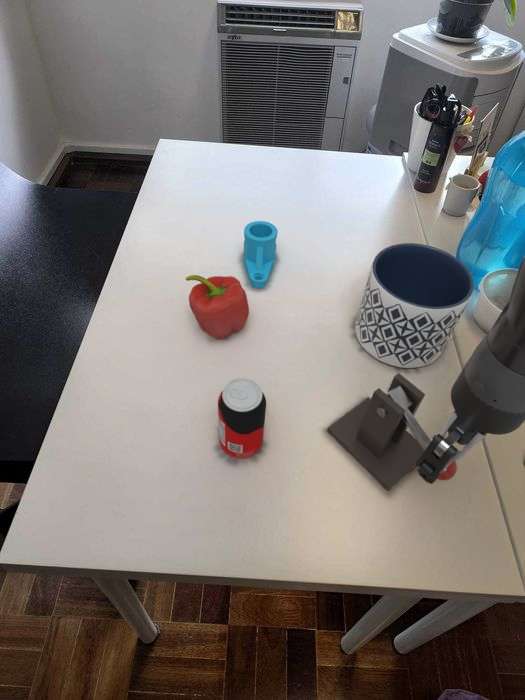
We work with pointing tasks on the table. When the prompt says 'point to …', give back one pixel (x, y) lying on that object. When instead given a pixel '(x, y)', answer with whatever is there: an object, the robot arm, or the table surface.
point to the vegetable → (219, 304)
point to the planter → (412, 304)
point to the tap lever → (417, 427)
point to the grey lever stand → (381, 434)
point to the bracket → (259, 251)
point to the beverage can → (241, 417)
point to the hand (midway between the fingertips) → (446, 457)
